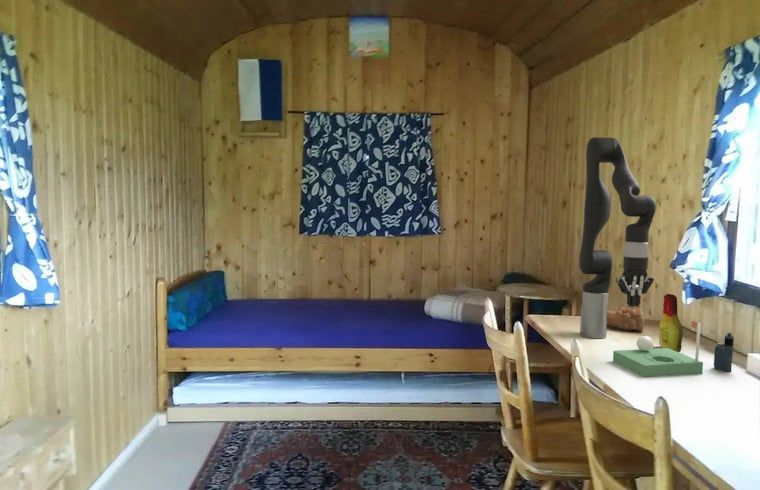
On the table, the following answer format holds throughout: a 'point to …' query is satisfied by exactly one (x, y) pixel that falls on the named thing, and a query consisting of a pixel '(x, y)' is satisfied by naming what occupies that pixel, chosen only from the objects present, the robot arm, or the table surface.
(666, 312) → the bottle
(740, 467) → the table surface
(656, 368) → the green
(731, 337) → the vaping device
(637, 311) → the bag of nuts
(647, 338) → the ball
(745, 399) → the table surface
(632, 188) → the robot arm
